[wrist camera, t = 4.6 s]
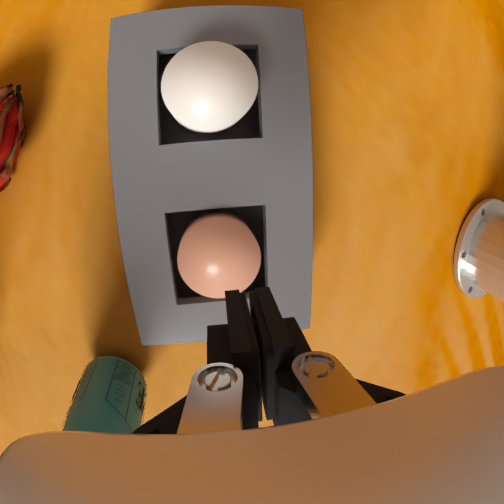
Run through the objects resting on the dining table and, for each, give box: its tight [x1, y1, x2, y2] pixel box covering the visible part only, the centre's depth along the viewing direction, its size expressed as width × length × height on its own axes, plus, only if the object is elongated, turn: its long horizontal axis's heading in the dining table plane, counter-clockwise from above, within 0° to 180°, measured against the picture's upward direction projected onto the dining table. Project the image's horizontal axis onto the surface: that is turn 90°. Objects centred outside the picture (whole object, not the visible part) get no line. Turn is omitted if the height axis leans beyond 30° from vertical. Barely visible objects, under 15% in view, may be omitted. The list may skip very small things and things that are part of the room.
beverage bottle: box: [63, 356, 147, 434], centre depth 18 cm, size 6×7×20 cm
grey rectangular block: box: [108, 5, 313, 346], centre depth 20 cm, size 12×22×6 cm, turn 2°
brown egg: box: [177, 208, 261, 298], centre depth 20 cm, size 5×5×4 cm
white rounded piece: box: [161, 41, 258, 134], centre depth 16 cm, size 5×5×4 cm
